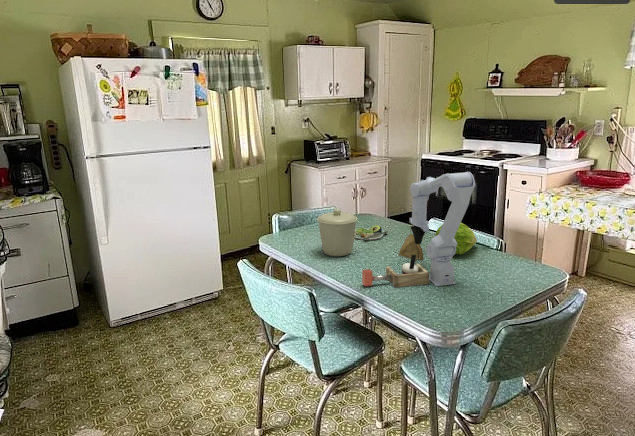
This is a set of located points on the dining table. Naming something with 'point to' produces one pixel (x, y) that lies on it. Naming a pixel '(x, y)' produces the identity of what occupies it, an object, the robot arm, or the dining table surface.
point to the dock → (409, 277)
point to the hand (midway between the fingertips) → (418, 243)
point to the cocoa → (410, 266)
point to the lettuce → (462, 238)
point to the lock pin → (372, 277)
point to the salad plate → (370, 233)
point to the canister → (337, 232)
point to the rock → (411, 248)
